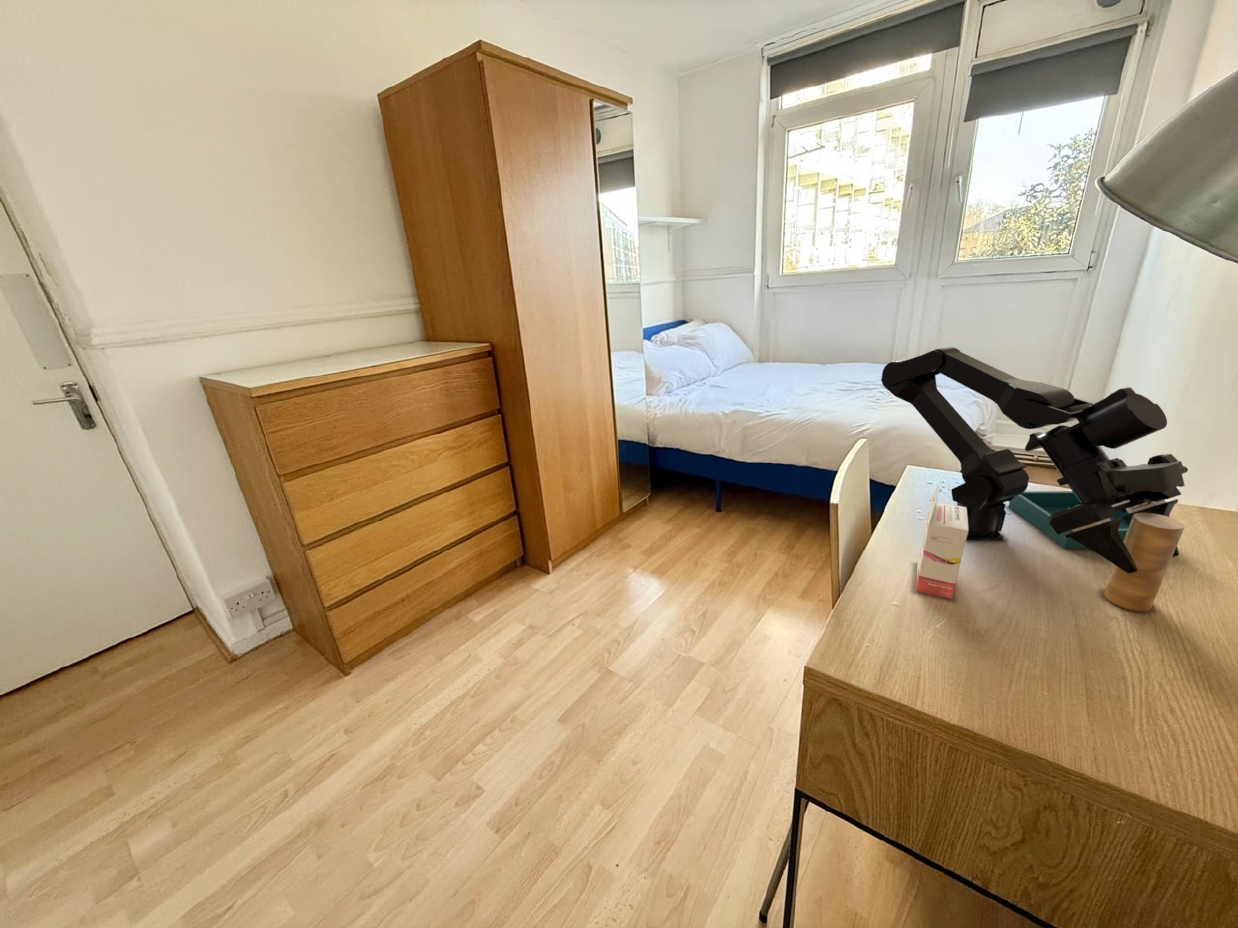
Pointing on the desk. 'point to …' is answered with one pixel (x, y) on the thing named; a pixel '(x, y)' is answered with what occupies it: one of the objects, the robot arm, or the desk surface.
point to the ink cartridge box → (942, 548)
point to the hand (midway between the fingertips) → (1154, 564)
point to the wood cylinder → (1144, 560)
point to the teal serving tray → (1044, 504)
